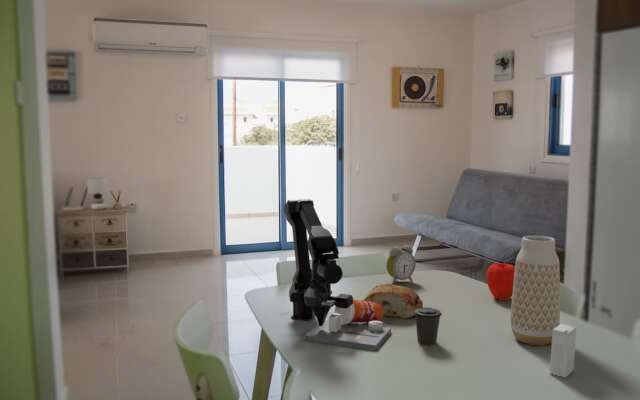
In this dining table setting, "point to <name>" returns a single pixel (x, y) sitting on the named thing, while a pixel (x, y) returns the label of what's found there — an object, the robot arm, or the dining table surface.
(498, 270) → the apple
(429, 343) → the coffee cup
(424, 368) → the dining table surface
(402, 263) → the alarm clock
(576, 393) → the dining table surface
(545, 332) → the vase
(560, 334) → the skincare box
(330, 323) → the fader
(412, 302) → the bread
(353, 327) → the console
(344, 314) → the coffee cup
